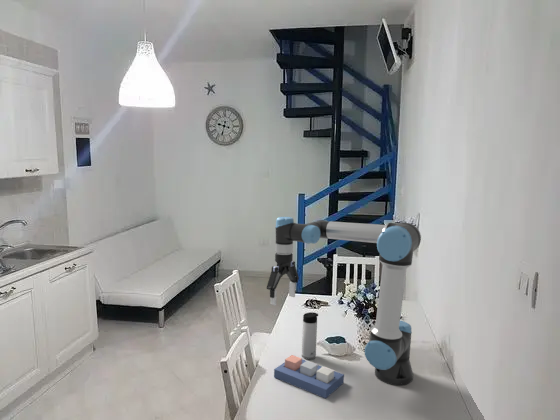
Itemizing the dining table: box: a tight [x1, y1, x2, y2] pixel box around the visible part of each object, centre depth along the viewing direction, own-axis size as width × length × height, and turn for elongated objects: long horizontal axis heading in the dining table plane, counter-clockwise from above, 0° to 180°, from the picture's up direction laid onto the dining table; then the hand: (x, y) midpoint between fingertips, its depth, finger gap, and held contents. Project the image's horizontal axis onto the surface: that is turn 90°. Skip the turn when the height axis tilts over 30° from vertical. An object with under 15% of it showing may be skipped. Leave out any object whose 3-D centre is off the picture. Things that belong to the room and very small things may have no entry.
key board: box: [273, 358, 345, 399], centre depth 171 cm, size 24×14×4 cm, turn 54°
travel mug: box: [301, 311, 319, 361], centre depth 190 cm, size 6×7×20 cm
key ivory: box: [316, 365, 335, 384], centre depth 166 cm, size 5×5×4 cm
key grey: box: [300, 360, 318, 377], centre depth 171 cm, size 5×5×4 cm
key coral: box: [284, 354, 303, 371], centre depth 175 cm, size 5×5×4 cm
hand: (282, 300), depth 187 cm, fingers open, 13 cm apart
